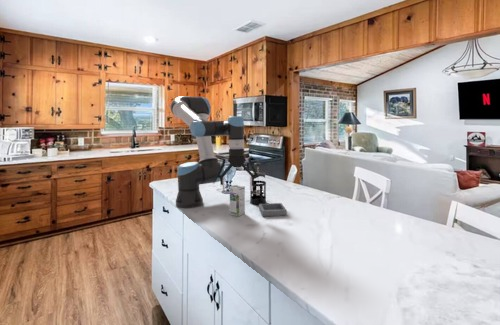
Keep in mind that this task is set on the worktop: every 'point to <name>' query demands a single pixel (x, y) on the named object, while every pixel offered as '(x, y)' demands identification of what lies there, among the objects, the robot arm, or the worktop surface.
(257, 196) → the french press
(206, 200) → the worktop surface
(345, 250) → the worktop surface
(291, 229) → the worktop surface
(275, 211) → the tray
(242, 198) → the syrup box
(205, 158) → the robot arm
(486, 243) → the worktop surface
